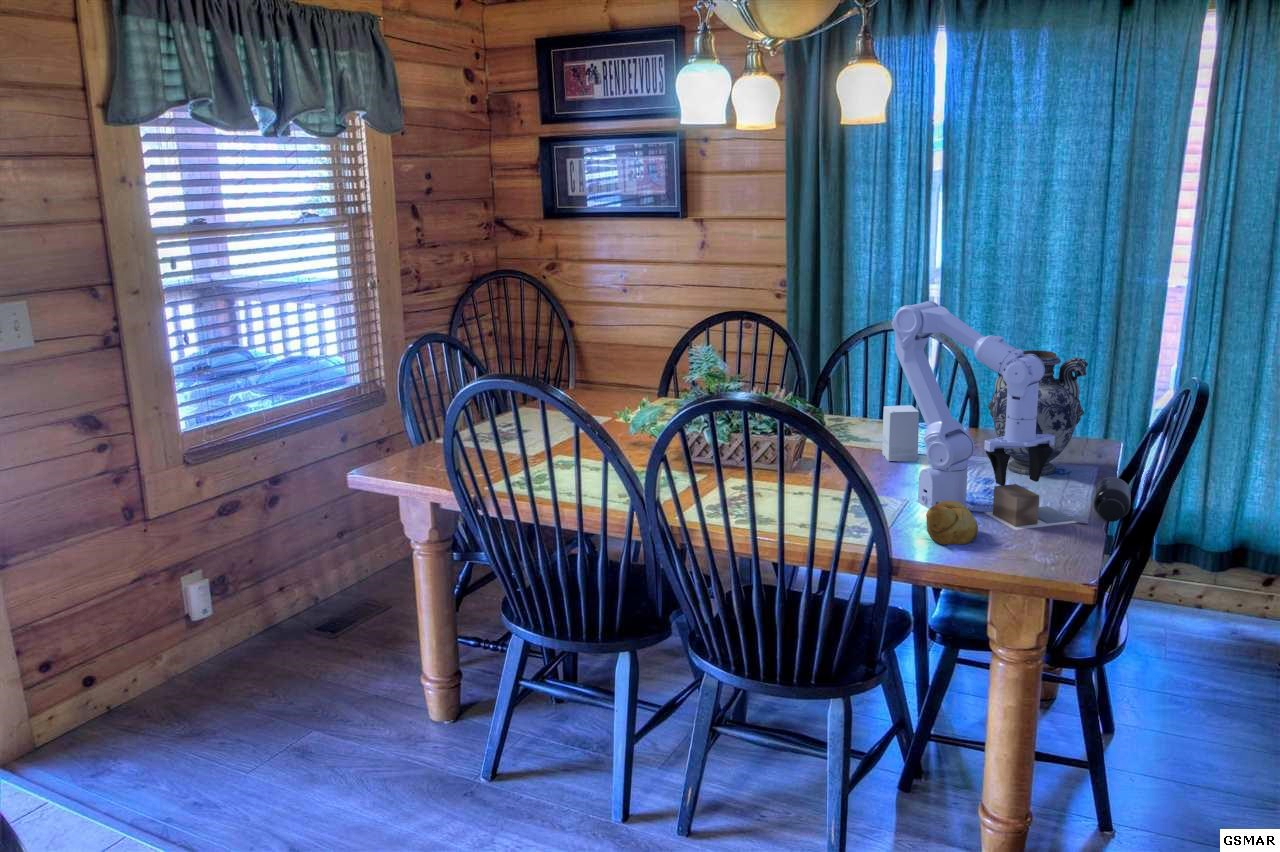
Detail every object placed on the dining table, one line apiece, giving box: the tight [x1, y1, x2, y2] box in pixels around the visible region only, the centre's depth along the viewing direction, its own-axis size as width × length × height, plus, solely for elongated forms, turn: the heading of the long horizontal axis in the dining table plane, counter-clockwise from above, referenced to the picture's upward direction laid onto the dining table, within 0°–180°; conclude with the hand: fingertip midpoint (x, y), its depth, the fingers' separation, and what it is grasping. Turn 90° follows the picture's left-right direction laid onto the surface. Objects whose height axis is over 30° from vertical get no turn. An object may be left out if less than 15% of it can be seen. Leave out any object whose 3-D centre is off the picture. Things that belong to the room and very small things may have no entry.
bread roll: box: [925, 501, 979, 546], centre depth 201 cm, size 13×10×8 cm
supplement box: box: [881, 404, 920, 462], centre depth 255 cm, size 7×7×13 cm
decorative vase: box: [987, 349, 1089, 476], centre depth 240 cm, size 21×19×28 cm
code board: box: [984, 505, 1077, 531], centre depth 210 cm, size 14×11×1 cm
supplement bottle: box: [1093, 476, 1132, 523], centre depth 210 cm, size 7×7×12 cm
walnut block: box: [992, 483, 1040, 527], centre depth 208 cm, size 5×8×6 cm, turn 14°
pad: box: [1038, 505, 1075, 524], centre depth 211 cm, size 6×9×1 cm
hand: (1017, 482), depth 207 cm, fingers open, 7 cm apart
